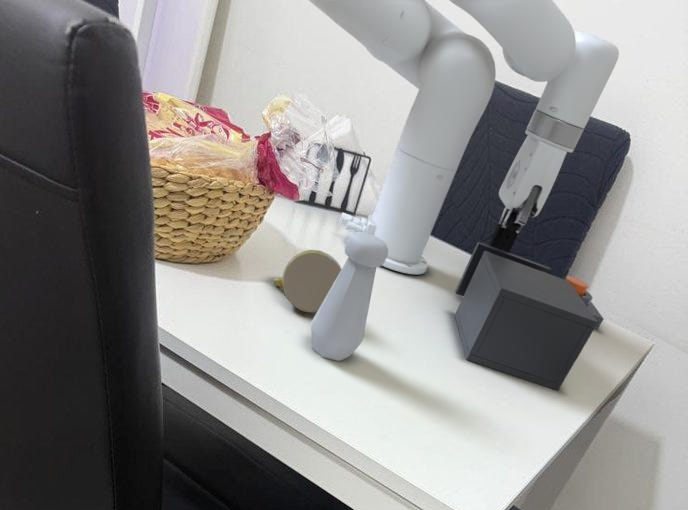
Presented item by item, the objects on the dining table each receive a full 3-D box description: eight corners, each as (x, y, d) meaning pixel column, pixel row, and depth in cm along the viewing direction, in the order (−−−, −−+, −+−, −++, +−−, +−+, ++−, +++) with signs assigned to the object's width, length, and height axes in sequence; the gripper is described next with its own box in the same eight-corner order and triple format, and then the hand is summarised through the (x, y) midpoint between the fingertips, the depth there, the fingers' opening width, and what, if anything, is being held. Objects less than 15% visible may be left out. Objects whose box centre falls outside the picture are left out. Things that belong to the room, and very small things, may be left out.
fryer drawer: (452, 281, 111) (474, 233, 106) (519, 305, 112) (543, 258, 108) (465, 325, 96) (491, 271, 92) (542, 352, 98) (571, 300, 93)
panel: (537, 309, 118) (549, 287, 115) (527, 291, 125) (538, 269, 123) (597, 330, 119) (609, 309, 117) (583, 311, 126) (595, 290, 124)
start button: (564, 291, 118) (569, 281, 117) (558, 283, 121) (564, 273, 120) (585, 299, 119) (591, 289, 118) (579, 290, 122) (585, 281, 121)
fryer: (454, 315, 101) (484, 250, 96) (535, 343, 103) (569, 281, 97) (466, 359, 89) (501, 287, 83) (558, 390, 91) (598, 322, 85)
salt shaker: (316, 332, 80) (354, 221, 73) (361, 354, 80) (404, 243, 72) (296, 347, 76) (335, 229, 68) (344, 370, 75) (388, 254, 68)
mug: (333, 295, 92) (369, 247, 84) (305, 346, 87) (340, 301, 79) (285, 262, 91) (317, 210, 82) (253, 312, 86) (284, 262, 77)
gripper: (520, 115, 108) (469, 231, 118) (541, 131, 96) (482, 259, 106) (564, 132, 109) (509, 246, 120) (590, 151, 97) (527, 275, 107)
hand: (497, 252), depth 113 cm, fingers closed
